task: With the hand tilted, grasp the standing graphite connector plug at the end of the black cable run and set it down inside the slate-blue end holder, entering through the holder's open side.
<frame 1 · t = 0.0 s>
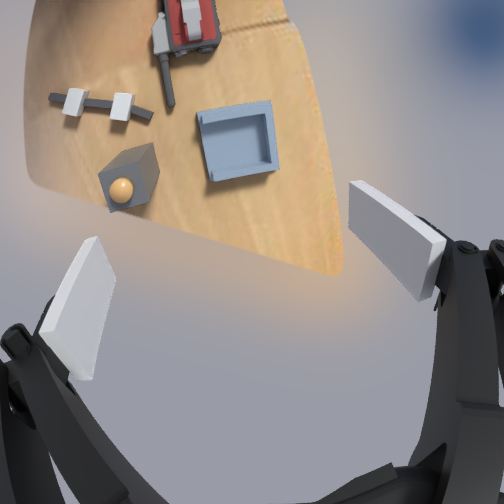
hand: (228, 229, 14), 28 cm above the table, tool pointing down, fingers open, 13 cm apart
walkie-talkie: (186, 36, 30), on the table
end holder: (238, 139, 39), on the table
cable run: (99, 103, 32), on the table
connector plug: (141, 161, 37), on the table
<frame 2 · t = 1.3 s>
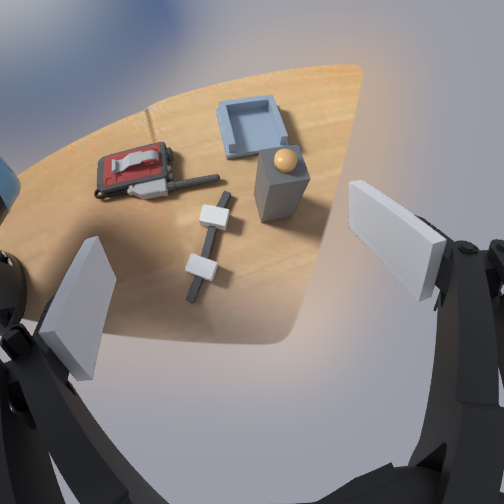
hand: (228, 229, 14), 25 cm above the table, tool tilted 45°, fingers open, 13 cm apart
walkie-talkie: (155, 175, 43), on the table
end holder: (251, 129, 45), on the table
cable run: (209, 245, 40), on the table
connector plug: (272, 205, 42), on the table
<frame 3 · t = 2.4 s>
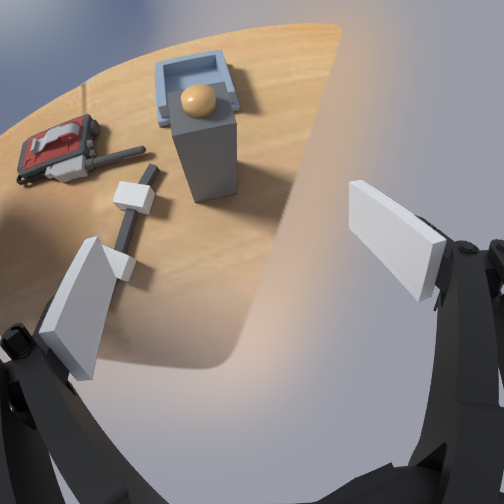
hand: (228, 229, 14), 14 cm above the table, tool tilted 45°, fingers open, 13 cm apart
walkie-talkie: (79, 154, 32), on the table
end holder: (194, 91, 34), on the table
cable run: (127, 235, 29), on the table
connector plug: (212, 179, 31), on the table
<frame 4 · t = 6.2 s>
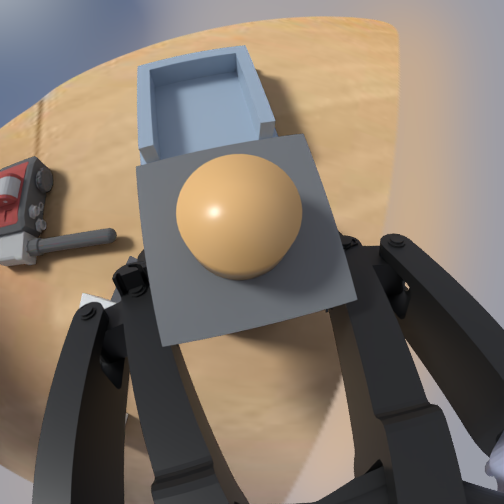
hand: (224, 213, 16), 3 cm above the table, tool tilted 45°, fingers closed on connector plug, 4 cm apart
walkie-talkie: (28, 218, 19), on the table
end holder: (201, 113, 21), on the table
cable run: (108, 374, 17), on the table
connector plug: (239, 287, 18), on the table, touching gripper
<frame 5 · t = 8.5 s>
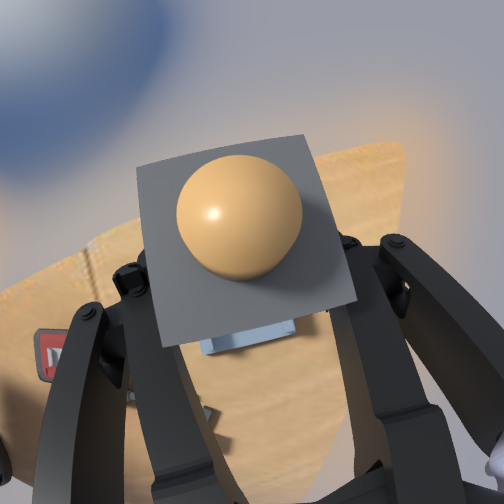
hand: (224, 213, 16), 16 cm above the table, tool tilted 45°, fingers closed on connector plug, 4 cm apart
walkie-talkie: (106, 365, 29), on the table
end holder: (238, 298, 31), on the table
connector plug: (239, 287, 18), point 13 cm above the table, touching gripper
when the fingers open (6 cm above the table, at t = 10.7 s): connector plug drops 1 cm, resting on end holder.
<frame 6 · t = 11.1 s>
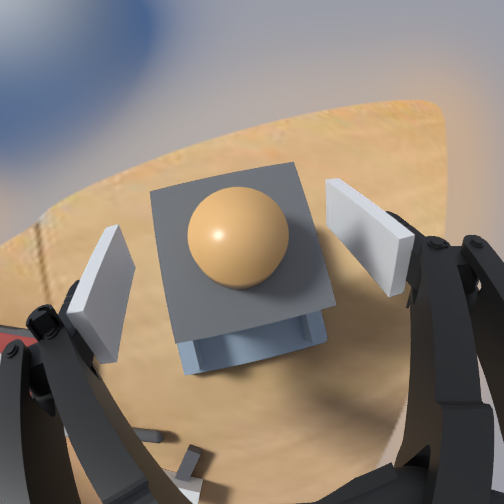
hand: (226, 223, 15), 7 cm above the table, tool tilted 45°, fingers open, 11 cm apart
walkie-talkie: (57, 379, 19), on the table
end holder: (239, 291, 21), on the table
connector plug: (239, 290, 20), point 1 cm above the table, touching end holder
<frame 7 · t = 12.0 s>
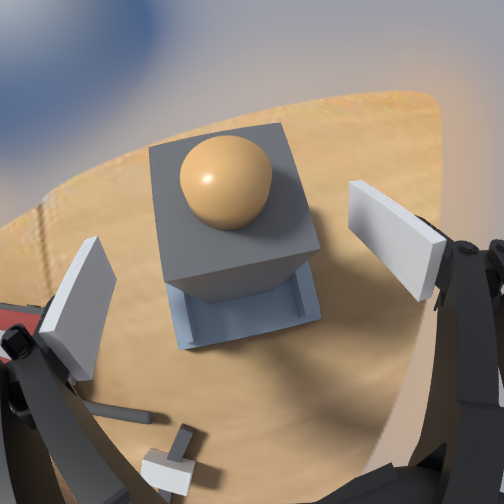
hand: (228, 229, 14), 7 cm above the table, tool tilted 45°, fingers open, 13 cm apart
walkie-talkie: (52, 357, 19), on the table
end holder: (235, 267, 21), on the table
cable run: (166, 498, 16), on the table
connector plug: (234, 265, 20), point 1 cm above the table, touching end holder
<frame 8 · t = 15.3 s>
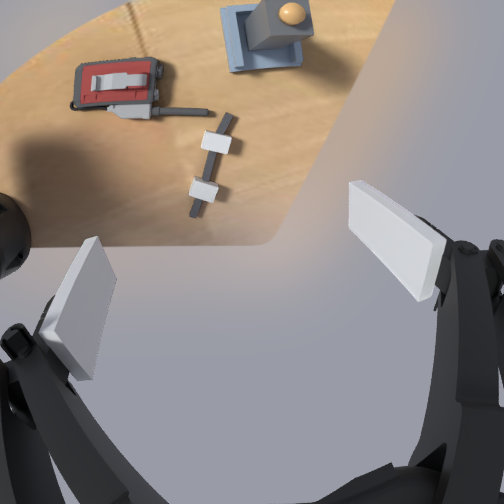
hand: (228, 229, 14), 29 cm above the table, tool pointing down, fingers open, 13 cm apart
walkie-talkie: (139, 88, 33), on the table
end holder: (260, 36, 32), on the table
cable run: (209, 165, 40), on the table
connector plug: (262, 35, 31), point 1 cm above the table, touching end holder
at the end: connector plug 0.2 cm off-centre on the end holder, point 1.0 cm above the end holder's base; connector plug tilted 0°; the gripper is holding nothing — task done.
